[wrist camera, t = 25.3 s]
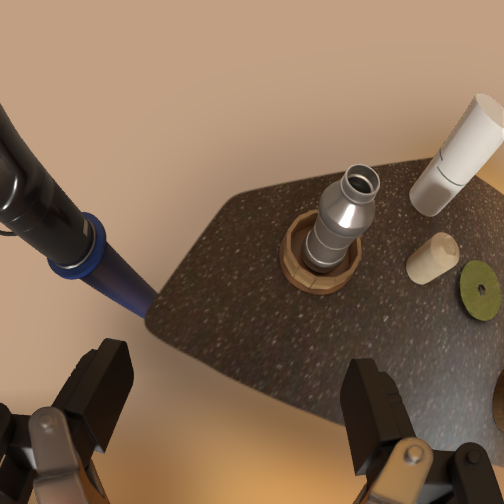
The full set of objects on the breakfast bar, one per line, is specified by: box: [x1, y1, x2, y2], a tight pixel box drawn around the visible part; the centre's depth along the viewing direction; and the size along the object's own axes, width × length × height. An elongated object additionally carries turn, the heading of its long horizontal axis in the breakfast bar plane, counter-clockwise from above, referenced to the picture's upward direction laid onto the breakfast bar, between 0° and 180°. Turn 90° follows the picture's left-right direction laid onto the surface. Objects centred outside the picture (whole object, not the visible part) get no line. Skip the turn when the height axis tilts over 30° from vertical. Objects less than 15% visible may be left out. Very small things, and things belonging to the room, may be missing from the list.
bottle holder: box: [279, 209, 362, 295], centre depth 45 cm, size 12×12×5 cm
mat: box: [460, 260, 501, 321], centre depth 44 cm, size 11×11×2 cm
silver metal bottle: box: [302, 164, 380, 273], centre depth 37 cm, size 6×7×20 cm
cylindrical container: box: [409, 93, 504, 217], centre depth 40 cm, size 7×7×25 cm
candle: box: [406, 233, 459, 284], centre depth 42 cm, size 6×6×10 cm
